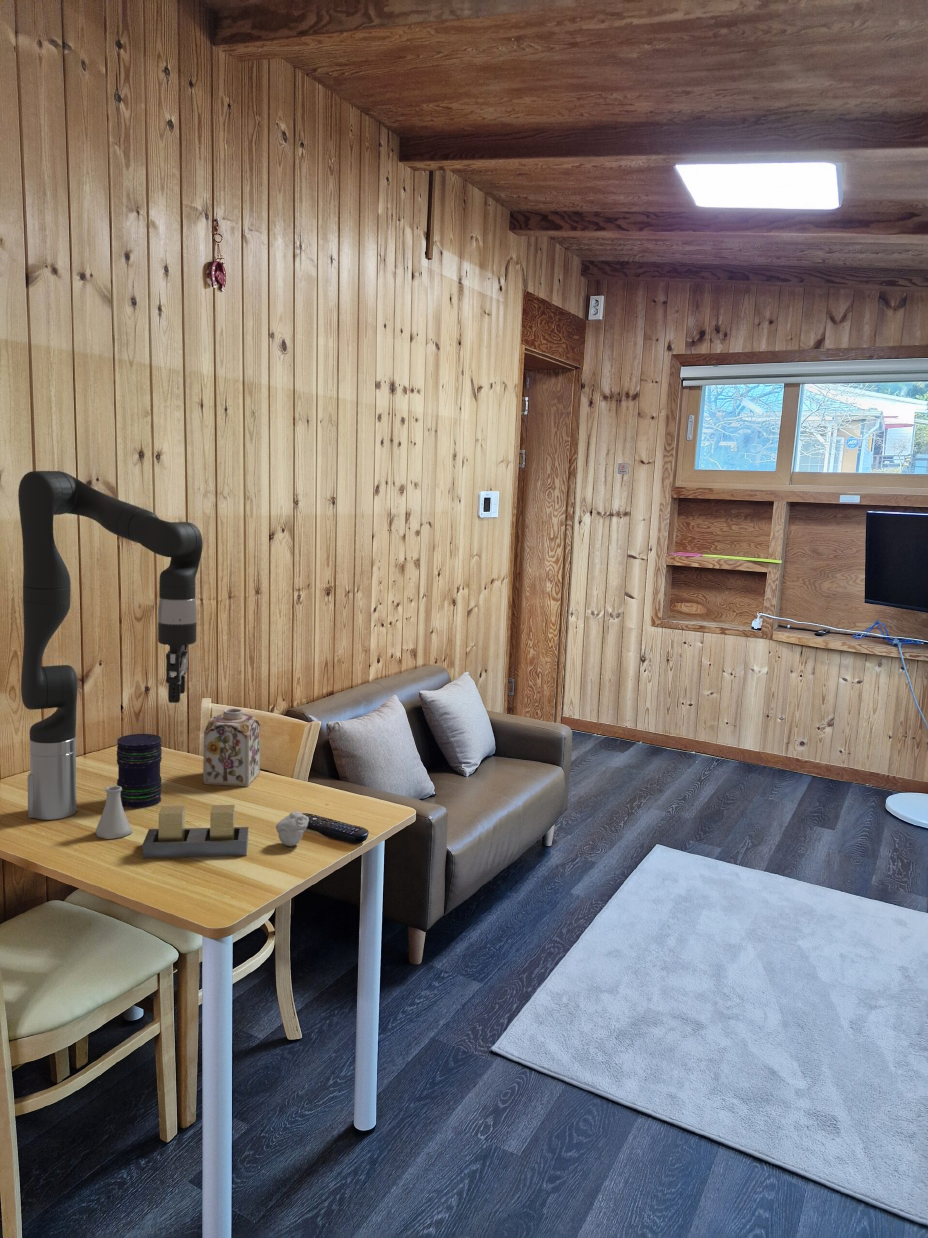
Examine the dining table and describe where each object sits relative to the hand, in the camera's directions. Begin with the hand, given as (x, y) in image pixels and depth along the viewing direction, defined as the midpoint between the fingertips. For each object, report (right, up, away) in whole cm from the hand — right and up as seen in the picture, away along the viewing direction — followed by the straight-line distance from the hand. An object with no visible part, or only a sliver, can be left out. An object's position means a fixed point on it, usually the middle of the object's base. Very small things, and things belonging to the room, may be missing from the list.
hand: (176, 697), depth 185 cm
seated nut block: (0, -30, -3) cm, 30 cm away
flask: (-15, -29, +4) cm, 33 cm away
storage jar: (-17, -27, +24) cm, 40 cm away
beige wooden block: (+10, -30, -1) cm, 32 cm away
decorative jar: (0, -25, +44) cm, 50 cm away
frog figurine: (+23, -31, +3) cm, 39 cm away
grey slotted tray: (+5, -31, -2) cm, 31 cm away
